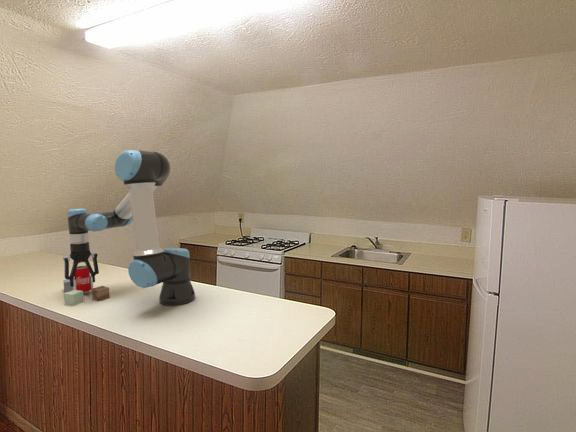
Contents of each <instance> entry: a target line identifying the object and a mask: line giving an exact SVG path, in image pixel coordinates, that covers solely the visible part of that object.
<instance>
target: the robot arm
mask: <svg viewBox="0 0 576 432" xmlns="http://www.w3.org/2000/svg"><path fill="white" fill-rule="evenodd" d="M114 172H115V175H116V176H117V178H118V179H119V180H120V181H123V186H124V188H126V189H127V190H128V193H127V194H126V195H125V197H124V198H123V199H122V200H121V201H120V203H119V204H117V206H116V207H115V208H114V209H113V211H106V212H98V213H97V212H96V213H88V212H87V209H86V208H71V209H68V211H67V224H68V225H67V226H68V232H69V233H68V235H69V243H70V244H69V248H70V254H69V255H68V256H65V257H63V259H62V260H63V262H64V280H67V279H68V280H70V286H71V287H73V290H76V280H75V279H74V275H75V272H76V268H77V267H78V265H79V264H81V263H84V264H85V266H87V267H88V268H89V270H90V283H91V290H90V291H92V289H93V288H94V283H96V275H99V273H100V271H99V264H98V260H97V259H98V253H97V252H91V249H90V242H89V241H90V239H89V237H90V236H89V231H91V232H101V231H102V232H103V231H104V230H107V229H114V228H123V227H127V226H129V225H130V224H131V223H133V225H132V226H133V232H134V238H135V246H136V250H135V252H134V253H133V254H132V255H133V260H132V261H131V262H130V263H129V265H128V270H127V271H128V275H129V278H130V281H132V283H134V284H135V286H136V287H138V288H141V289H147V288H149V287H154V286H156V285H159V284H162V285H161V289H160V293H159V297H158V300H159V303H160V304H161V305H164V306H180V305H185V304H189V303H191V302H193V301H194V300H195V298H196V292H195V289H194V287H193V284H192V281H191V257H190V251H189V249H187V248H181V247H164V248H162V247H161V246H160V239H159V233H158V223H157V218H156V217H157V216H156V209H155V200H154V194H153V193H154V191H155V189H157V187H161V186H163V185H164V183H165V182H166V181H167V180H168V178H169V177H170V174H171V164H170V161H169V159H168V158H167V157H166V156H165V155H164V154H162V153H161V152H157V151H148V150H140V149H139V150H138V149H127V150H123V151H122V152H121V153H119V154H118V156H117V158H116V159H115V163H114ZM90 257H91V258H92V264H93V267H92V266H91V264H90V261H89V258H90ZM71 260H72V261H73V263H72V266H71V270H70V261H71Z"/></svg>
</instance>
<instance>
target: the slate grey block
mask: <svg viewBox="0 0 576 432" xmlns="http://www.w3.org/2000/svg"><path fill="white" fill-rule="evenodd" d="M62 283H63V291H64V293H67V292H70V291H72V290H73V287H71V286H70V280H68V279H63V282H62ZM64 293H63V294H64Z"/></svg>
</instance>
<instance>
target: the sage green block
mask: <svg viewBox="0 0 576 432" xmlns="http://www.w3.org/2000/svg"><path fill="white" fill-rule="evenodd" d="M63 298H64V299H63V302H64V305H65V306H71V307H72V306H73V307H75V306H77V305H80V304H82V303H84V301H85V298H84V294H83V291H79V290H72V291H70V292H66V293H63Z"/></svg>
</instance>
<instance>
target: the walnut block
mask: <svg viewBox="0 0 576 432" xmlns="http://www.w3.org/2000/svg"><path fill="white" fill-rule="evenodd" d="M110 295H111V294H110V286H109V287H108V286H104V285H100V286H97V287H93V289H92V290H91V299H92V300H93V301H96V302H101V301H105V300H108V299H110V298H111V297H110Z"/></svg>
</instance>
